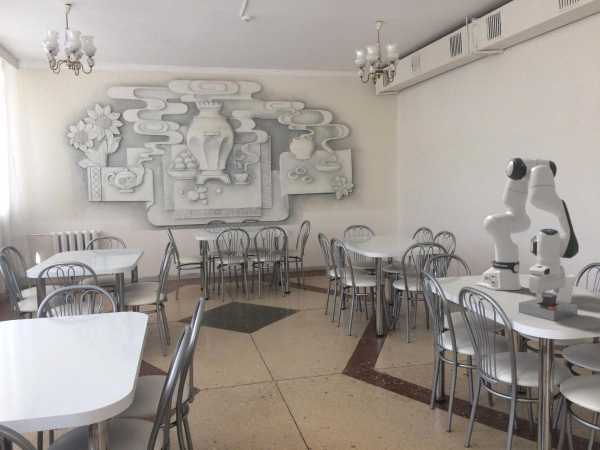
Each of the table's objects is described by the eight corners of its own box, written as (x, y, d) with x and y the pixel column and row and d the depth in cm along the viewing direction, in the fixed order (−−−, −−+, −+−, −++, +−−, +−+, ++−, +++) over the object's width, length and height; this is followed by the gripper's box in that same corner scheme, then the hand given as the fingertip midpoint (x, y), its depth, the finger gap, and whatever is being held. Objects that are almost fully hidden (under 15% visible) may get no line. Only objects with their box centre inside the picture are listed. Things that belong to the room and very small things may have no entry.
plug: (539, 312, 205) (540, 295, 204) (546, 311, 207) (546, 294, 206) (549, 315, 201) (549, 297, 200) (555, 313, 203) (556, 296, 203)
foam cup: (564, 306, 213) (564, 277, 212) (546, 302, 221) (546, 274, 220) (579, 303, 217) (579, 275, 216) (560, 299, 225) (561, 272, 224)
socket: (518, 312, 207) (518, 300, 207) (541, 306, 215) (542, 295, 215) (554, 320, 193) (554, 308, 193) (577, 314, 201) (577, 302, 201)
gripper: (556, 264, 210) (555, 295, 211) (526, 269, 200) (525, 302, 201) (570, 266, 205) (569, 298, 206) (540, 272, 195) (539, 305, 196)
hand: (547, 300), depth 204 cm, fingers open, 8 cm apart
